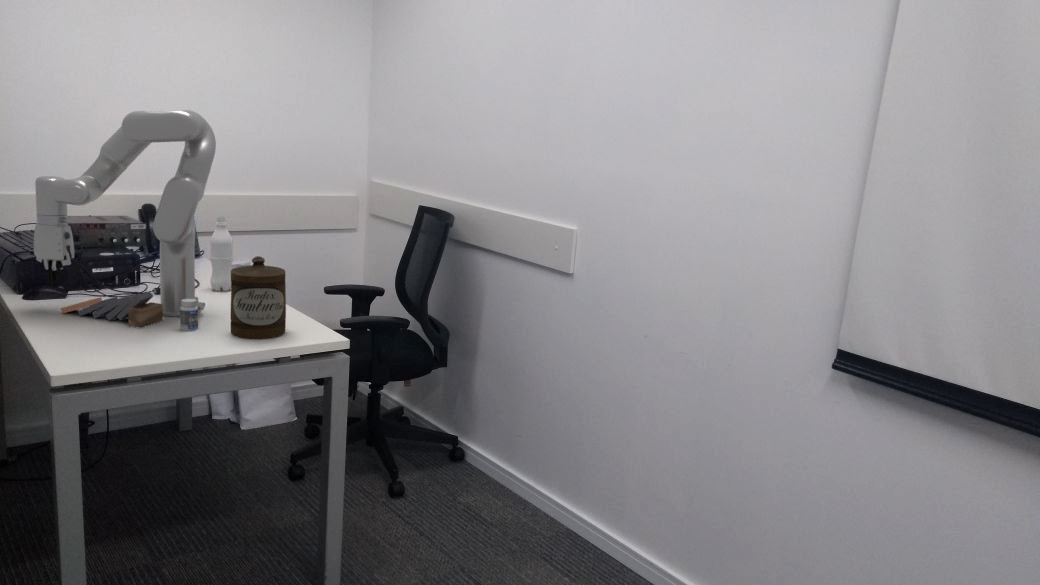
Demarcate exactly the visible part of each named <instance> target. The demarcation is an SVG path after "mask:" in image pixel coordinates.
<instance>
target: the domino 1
mask: <svg viewBox="0 0 1040 585" xmlns="http://www.w3.org/2000/svg"><path fill="white" fill-rule="evenodd" d="M101 301H103V298H102V297H101V296H100V297H96V298H92V299H89V300H86V301H82V302H79V303H74V304H71V305H67V306H64V307H63V306H62V307H60V311H61V314H66V313H69V312H73V311H76V310H81V309H84V308H86V307H89V306H91V305H93V304H96V303H98V302H101Z"/></svg>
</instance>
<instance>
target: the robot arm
mask: <svg viewBox="0 0 1040 585" xmlns="http://www.w3.org/2000/svg"><path fill="white" fill-rule="evenodd" d="M174 142H178V143H179V142H184V148H183V151H182V153H181V157H180V160H179V164H178V166H177V169H176V172H175V174H174V176H173V177H171V178H170V179H169V180H168V181H167V183H166V185H165V186H164V190H163V191H162V194H161V198H160V201H159V204H158V207H157V210H156V214H155V217H154V219H153V223H152V228H153V230H152V231H153V234H154V236H155V237H156V239H157V240H159V283H160V284H159V285H160V286H159V287H160V288H159V289H160V291H159V292H160V304H163V317H165V316H166V317H180V307H181V306H182V305H181V300H183V299H196V300H197V305H196V306H197V307H198V314H199V313H200V312H201V311H203V310H204V309H205V307H206V302H201V301H200V302H199V296H196V282H195V281H196V278H195V277H196V275H195V273H196V272H195V267H196V266H195V261H196V260H195V249H196V248H195V247H196V244H195V242H196V241H195V240H196V221H195V217H194V216H195V215H196V214H195V213H196V210H197V207H198V204H199V203H200V202H201V201H202V199H203V197H204V195H205V190H206V186H207V183H208V179H209V175H210V173H211V169H212V165H213V162H214V158H215V154H216V148H217V147H216V146H217V145H216V144H217V141H216V136H215V133H214V130H213V128H212V126H211V125H210V124H209V122H208V121H207V120H206V119H205V118H204V117H203V116H202V115H200V114H199V113H198V112H195V111H194V110H189V109H188V110H187V109H183V110H163V111H161V110H159V111H155V110H154V111H146V110H145V111H144V110H137V111H132V112H129V113H128V114H126V115H125V116H124V118H123V120H122V122H121V126H120V127H119V128H118V129H117V130H116V131H115V132H114V133H113V134H112V135H111V136H110V137H109V138H108V139H107V140H106V141H105V142H104V143H103V144H102V146H101V147H100V150H99V154H98V157H97V158H96V159H95V161H94V162H92V164H91V165H90V166H89V167H88V168H87V169H86V170H85V172H83V173H82V175H80V176H79V177H76V178H72V179H71V178H70V179H64V178H63V177H61V176H53V175H52V176H49V175H44V176H39V177H36V179H35V183H34V185H35V204H36V205H35V208H36V210H35V211H36V224H35V225H34V226H35V227H34V233H33V254H34V256H35V257H36V258H35V260H36V261H37V262H39V263H41V264H43V266H44V269H45V270H46V272H47V273H46V275H47V276H46V277H47V278H46V279H47V284H48V285H49V284H50V285H56V284H60V283H61V282H62V273H61V271H62V270H63V269H64V267H65V266H70V265H72V261H71V260H72V259H74V258H75V246H74V244H75V243H74V237H73V232H72V228H71V226H70V225H69V223H70V218H68V205H72V206H86V205H87V204H90V203H92V202H95V201H97V200H98V199H99V198H100V197H101V196H102V195H103V194H104V193H106V191H107V190H108V189H109V188H110V187H111V186H112V185H113V184H114V183H115V182H116V181H117V180H118V178H120V176H121V175H122V174H123V173H125V171H126V170H127V169H128V167H129V166H130V165H132V163H133V162H134V161H135V160H136V159H137V158H138V157H139V156H140V155H141V154H142V153H143V152H144V151H145V150H146V149H147V148H148V147H149V146H150V145H151V144H152V143H174Z"/></svg>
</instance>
